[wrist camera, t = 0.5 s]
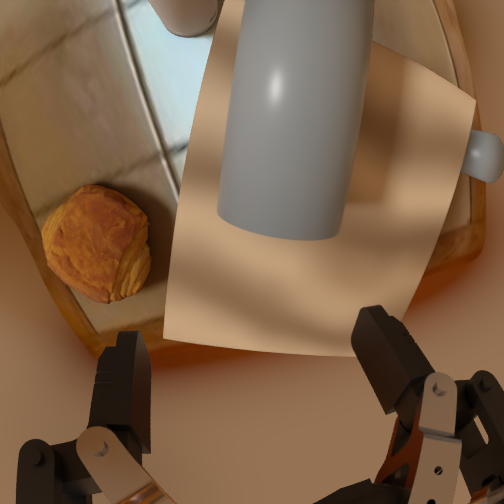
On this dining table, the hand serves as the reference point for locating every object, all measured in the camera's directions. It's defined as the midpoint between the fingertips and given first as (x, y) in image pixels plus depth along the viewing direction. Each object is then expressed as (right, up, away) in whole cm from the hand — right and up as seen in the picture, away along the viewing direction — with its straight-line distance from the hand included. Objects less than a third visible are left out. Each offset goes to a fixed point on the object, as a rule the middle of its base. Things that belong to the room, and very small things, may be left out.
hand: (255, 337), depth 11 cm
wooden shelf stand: (+3, +13, +24) cm, 28 cm away
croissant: (-19, +5, +26) cm, 33 cm away
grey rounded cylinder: (+25, +18, +24) cm, 39 cm away
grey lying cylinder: (+1, +5, +3) cm, 6 cm away
